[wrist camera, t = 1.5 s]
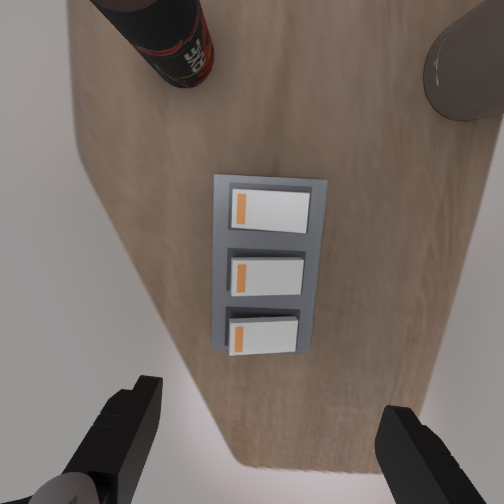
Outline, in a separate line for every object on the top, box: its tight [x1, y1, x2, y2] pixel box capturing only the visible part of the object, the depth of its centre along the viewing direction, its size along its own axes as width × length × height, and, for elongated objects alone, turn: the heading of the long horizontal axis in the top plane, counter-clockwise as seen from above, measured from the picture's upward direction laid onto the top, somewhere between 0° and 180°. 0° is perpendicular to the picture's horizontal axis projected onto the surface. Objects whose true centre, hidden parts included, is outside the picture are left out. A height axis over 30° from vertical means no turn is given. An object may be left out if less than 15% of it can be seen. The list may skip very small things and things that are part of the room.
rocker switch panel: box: [211, 174, 328, 354], centre depth 33 cm, size 11×19×3 cm, turn 177°
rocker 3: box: [228, 316, 298, 356], centre depth 32 cm, size 7×4×2 cm, turn 87°
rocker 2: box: [230, 257, 304, 296], centre depth 31 cm, size 7×4×2 cm, turn 87°
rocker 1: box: [231, 188, 310, 233], centre depth 29 cm, size 7×4×2 cm, turn 87°
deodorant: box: [90, 0, 214, 88], centre depth 22 cm, size 6×6×15 cm
